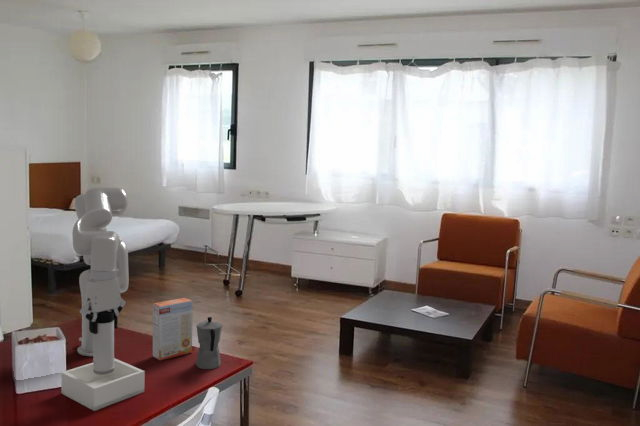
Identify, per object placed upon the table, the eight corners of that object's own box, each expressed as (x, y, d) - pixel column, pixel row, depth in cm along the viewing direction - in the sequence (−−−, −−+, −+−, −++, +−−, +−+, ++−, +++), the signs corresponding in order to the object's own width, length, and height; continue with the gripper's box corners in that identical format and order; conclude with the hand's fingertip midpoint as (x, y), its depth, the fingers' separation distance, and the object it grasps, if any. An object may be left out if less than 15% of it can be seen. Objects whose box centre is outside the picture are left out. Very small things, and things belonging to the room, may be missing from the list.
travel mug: (88, 373, 183) (87, 311, 180) (103, 365, 189) (102, 306, 186) (103, 376, 180) (103, 314, 178) (118, 369, 186) (118, 309, 184)
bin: (61, 393, 184) (61, 372, 183) (111, 376, 198) (111, 356, 197) (94, 411, 173) (94, 388, 172) (144, 391, 188) (144, 371, 187)
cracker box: (184, 348, 227) (185, 296, 225) (192, 353, 223) (193, 300, 220) (151, 356, 218) (152, 302, 215) (159, 361, 213) (159, 306, 211)
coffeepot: (193, 359, 217) (194, 312, 215) (218, 357, 220) (219, 311, 218) (198, 375, 203) (200, 325, 201) (225, 372, 206) (227, 323, 204)
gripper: (120, 268, 190) (120, 321, 192) (71, 277, 176) (71, 334, 178) (134, 272, 186) (134, 326, 188) (85, 281, 172) (85, 339, 174)
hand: (103, 329), depth 183 cm, fingers closed on travel mug, 6 cm apart
